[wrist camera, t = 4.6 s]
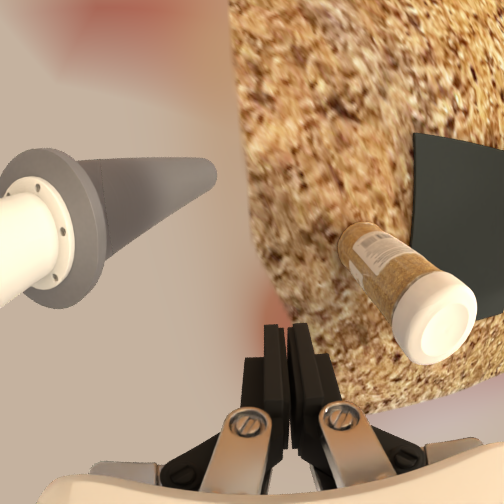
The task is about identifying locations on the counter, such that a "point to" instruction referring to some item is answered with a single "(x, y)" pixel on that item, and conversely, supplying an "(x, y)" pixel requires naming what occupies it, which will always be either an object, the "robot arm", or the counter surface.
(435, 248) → the mat
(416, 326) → the sprinkles bottle
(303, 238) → the counter surface
